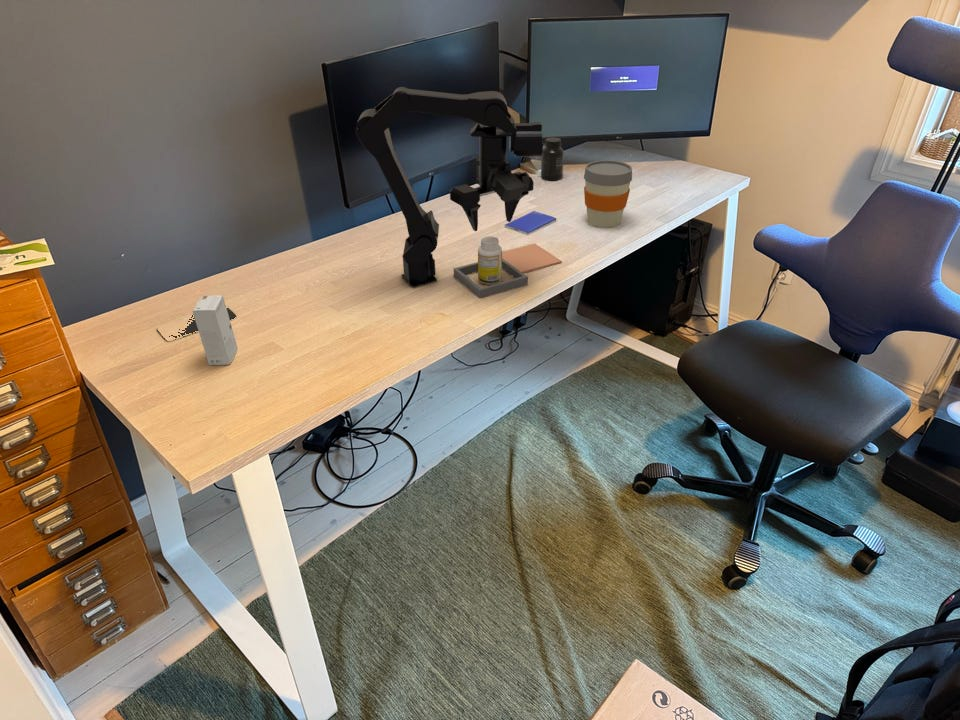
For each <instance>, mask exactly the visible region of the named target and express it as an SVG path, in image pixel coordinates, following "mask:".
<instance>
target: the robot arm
mask: <svg viewBox="0 0 960 720" xmlns="http://www.w3.org/2000/svg"><path fill="white" fill-rule="evenodd" d="M405 112H411V113H423V114H429V115H438V116H439V115H440V116H449V117H457V118H458V117H459V118H463V119H467V120H470V121H471V122H474V123H476V124H475V125H474V126H473V127H472V128H471V129H470V137H474V138H476V137H477V138H478V139H479V140H478V142H479V145H478V146H479V149H478V150H479V151H478V152H479V153H478V154H479V156H478V159H475V165H476V166H478V167H479V169H478V171H479V173H478V175H479V177H478V178H475V184H476V185H479V186H478V187H472V186H470V185H468V184H467V183H465V184H461V185H457V186H454V187H452V188H451V189H450V191H449V199H450V201H452V202H454V203H455V204H457V205H459V206H461V208H462V209H463V211H464V213H465V215H466V217H467V219H468V221H469V224H470V226H471V228H472V230H473V231H474V232H477V231H478V227H479V214H478V213H479V212H478V211H479V209H480V207H481V204H480V203H479V202H480V201H481V197H482V196H487V195H491V194H497V195H498V197H499V198H500V200H501V201H503V202H504V212H505V219H506V222H508V223H510V222H512V221H513V220H512V219H513V216H514V215H515V212H516V209H517V206H519V205H518V204H519V202H520V201H521V199H522V198H525V196H528V194H529V192H533V190H534V183H535V182H534V180H533V178H532V176H530V175H529V174H528V172H526V171H523V172H521V171H515V172H512V168H511V163H510V162H509V161H507V148H508V147H507V143H508V142H507V140H508V139H507V138H508V137H509V144H508V145H509V153H512V154H513V155H514V157H516V158H524V157H525V158H527V157H528V158H529V157H530V158H531V157H532V158H533V157H534V158H535V157H540V158H542V152H543V149H544V141H543V130H542V129H543V125H542V122H540V121H537V122H536V121H534V122H524V123H523V122H519V123H516V122H515V119H514V116H512V115H511V114H510V112H509V108H508V104H507V99H506V98H505V97H504V95H503V94H502V93H500V92H499V91H497V90H496V91H495V90H489V91H477V92H471V93H468V94H460V93H453V92H452V93H450V92H449V93H448V92H442V91H441V92H439V91H431V90H422V89H415V88H413V89H412V88H407V87H404V86H400V87H397V88H396V89H395V90H394V91H393V93H391V94H390V95H389V96H388V97H386V98H385V99H384V100H383V101H380V103H379V104H378V105H377V106H375V107H374V108H369V109H365V110H364V111H363V112H361V114H360V116H359V118H358V120H357V122H356V125H355V135H356V138H357V140H359V142H360V144H362V146H363V147H364V148H365V151H367V152H368V154H370V155H371V157H372V158H373V159H374V160H375V161H376V162H377V164H378V166H379V168H380V170H381V172H382V174H383V176H384V178H385V181H386V182H387V184H388V186H389V188H390V190H391V193H392V195H393V197H394V198H395V201H396V203H397V204H398V207H399V208H400V210H401V213H402V214H403V216H404V219H405V224H406V227H407V228H406V229H407V233H408V237H407V238H405V240H404V247H403V252H402V264H403V265H402V267H403V274H401V278H402V279H403V280H404V282H406V283H407V284H408V285H409V286H410V287H411V288H416V287H420V286H423V285H427V284H431V283H434V282H438V278H437V277H436V259H434V256H433V255H434V254H433V252H434V251H435V250H436V249H437V246H438V242H439V241H438V239H439V234H440V233H439V232H440V231H439V230H440V224H439V223H438V221H437V220H436V219H435V216H434V212H433V210H430V211H428V212H426V211H425V209H423V208H422V206H421V205H420V203H419V201H418V198H417V197H416V194H415V192H414V190H413V187H412V186H411V184H410V180H409V179H408V177H407V175H406V173H405V171H404V169H403V167H402V164H401V162H400V160H399V158H398V156H397V153H396V152H395V150H394V146H393V141H392V137H391V131H390V127H391V126H392V124H394V123H395V122H396V121H397V119H398V118H400V116H401V115H403V114H404V113H405Z"/></svg>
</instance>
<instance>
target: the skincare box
mask: <svg viewBox="0 0 960 720" xmlns="http://www.w3.org/2000/svg"><path fill="white" fill-rule="evenodd" d="M226 306H227V304H226V302H225V299H224V296H223V295H221V294H220V295H219V294H217V295H203V296H201V298H199V300H198V301H197V302H196V304H195V307H194V308H193V310H192V314H193V315H194V318H195V321H196V324H197V328H198V331H199V332H198V334H199V337H200V341H201V343H202V347H203V350H204V353H205V356H206V360H207V364H208V365H209V366H227V365H230V364H232V361H233V360H234V358H235V356H236V354H237V352H238V345H237V341H236V337H235V334H234V330H233V327H232V323H231V321H230V319H229V315H228V312H227V308H226Z"/></svg>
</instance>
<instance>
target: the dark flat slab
mask: <svg viewBox="0 0 960 720" xmlns="http://www.w3.org/2000/svg"><path fill="white" fill-rule="evenodd" d="M227 312H228V315H229V319H230V320H231V319H234V318H235V317H236V318H237V314H236V313H234V311H232V309H230V308H229V307H228V308H227ZM191 315H192V314H191ZM192 317H193V315H192ZM192 317H191V318H192ZM236 318H235V319H236ZM193 319H195V318H193ZM235 319H234V320H235ZM189 320H192V319H189ZM192 321H193V322H191V324H189V326H187V328H185V330H186V331H185V330H182V331H185V332H184V333H180V332H178V333H180V334H181V335H182V336H183V335H185V333H186V334H189V333H193V332H195V331H198V328H197V324H196V321H195V320H192ZM231 321H232V320H231ZM188 322H190V321H188ZM187 324H188V323H187ZM179 330H180V329H179ZM171 336H173V335H171ZM178 336H179V337H180V335H178ZM169 337H170V336H169ZM173 337H175V338H177V336H173Z"/></svg>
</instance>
